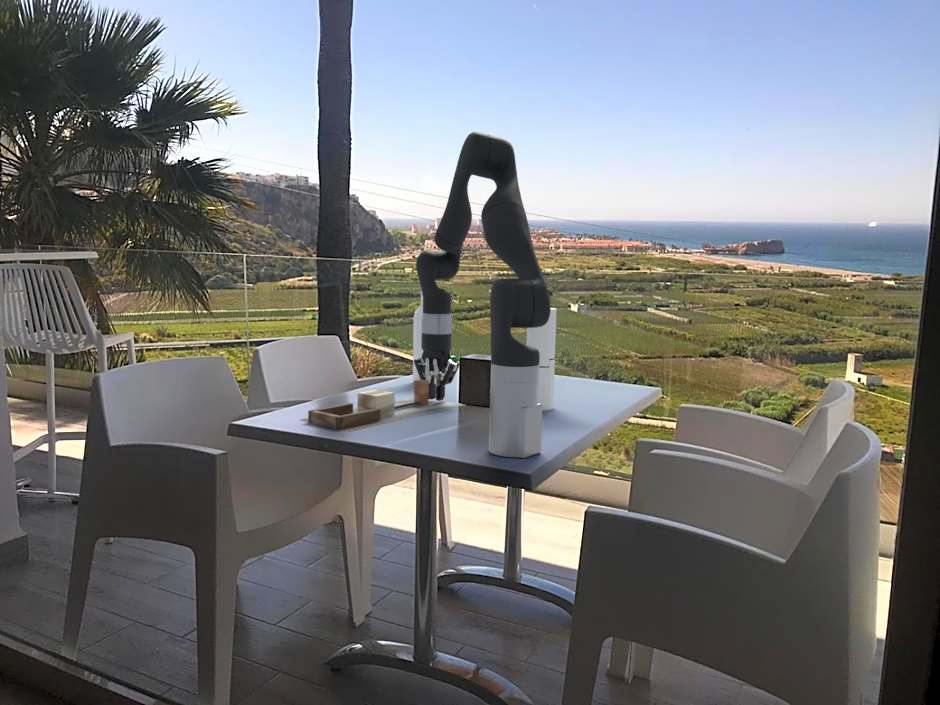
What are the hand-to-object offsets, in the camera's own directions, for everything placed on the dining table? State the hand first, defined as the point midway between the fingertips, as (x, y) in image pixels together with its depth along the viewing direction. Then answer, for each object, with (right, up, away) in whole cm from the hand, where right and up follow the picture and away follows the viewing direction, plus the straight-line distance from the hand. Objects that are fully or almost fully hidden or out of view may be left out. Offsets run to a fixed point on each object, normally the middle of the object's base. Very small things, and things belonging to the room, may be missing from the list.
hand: (435, 399), depth 188 cm
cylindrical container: (+26, -2, -1) cm, 26 cm away
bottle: (-4, +3, +33) cm, 33 cm away
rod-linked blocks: (-9, -2, -11) cm, 14 cm away
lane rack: (-11, -3, -13) cm, 17 cm away
